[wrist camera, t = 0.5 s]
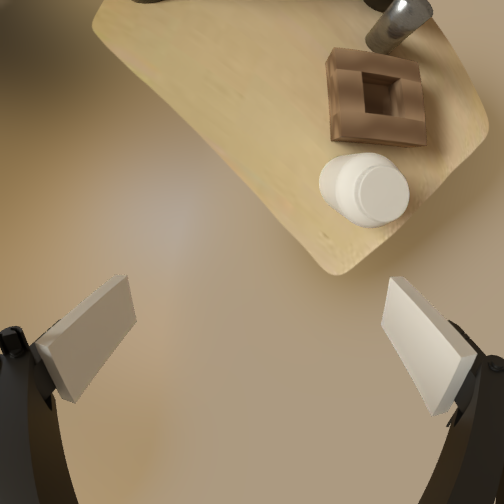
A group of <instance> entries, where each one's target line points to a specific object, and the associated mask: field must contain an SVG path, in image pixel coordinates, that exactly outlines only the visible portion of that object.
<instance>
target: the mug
mask: <svg viewBox="0 0 504 504" xmlns="http://www.w3.org/2000/svg"><path fill="white" fill-rule="evenodd" d="M393 1H394V0H364V2H365V3H366V4H367V5H368V6H369V7H371V8H372V9H374V10H377V11H380V12H385V11H386V10H387V8H388V7H389V6H390V5H391V3H392V2H393Z"/></svg>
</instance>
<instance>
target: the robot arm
mask: <svg viewBox="0 0 504 504" xmlns="http://www.w3.org/2000/svg"><path fill="white" fill-rule="evenodd" d="M132 1H134V2H137V3H153V2H158V1H162V0H132ZM136 322H137V320H136V316H135V311H134V307H133V302H132V297H131V292H130V287H129V282H128V276H127V275H114V276H113V277H112V278H111V279H109V280H108V281H107V282H105V283H104V284H103V285H102V286H100V287H99V288H98V289H97V290H95V291H94V292H93V293H92V294H91V295H90V296H88V297H87V298H86V299H84V300H83V301H82V302H81V303H80V304H78V306H76V307H75V308H74V309H73V310H72V311H70V312H69V313H68V314H67V315H66V316H64V317H63V318H62V319H60V320H58V321H57V322H56V323H55V324H54V325H53V326H52V327H51V328H49V329H48V330H47V332H45V333H43V334H42V335H41V336H40V337H39V338H38V339H37V340H36V341H35V342H34V343H32V344H31V345H30V346H29V345H28V343H27V341H26V338H25V335H24V333H23V330H22V328H20V327H18V326H12V327H8V328H6V329H4V330H2V331H1V332H0V348H1V350H2V353H3V354H0V504H78V501H77V498H76V495H75V492H74V488H73V485H72V482H71V478H70V475H69V471H68V468H67V463H66V459H65V455H64V450H63V446H62V440H61V435H60V430H59V423H58V417H57V410H56V402H55V398H54V396H53V394H52V392H53V391H54V390H55V388H56V389H57V390H58V393H59V394H60V396H61V398H62V399H64V400H67V401H70V402H72V403H76V402H77V401H78V399H79V398H80V396H81V395H82V394H83V392H84V390H85V389H86V388H87V387H88V385H89V384H90V383H91V381H92V380H93V378H94V377H95V376H96V374H97V373H98V371H99V370H100V369H101V368H102V366H103V365H104V364H105V362H106V361H107V359H108V358H109V357H110V356H111V354H112V353H113V352H114V350H115V349H116V348H117V346H118V345H119V344H120V343H121V341H122V340H123V339H124V337H125V336H126V335H127V333H128V332H129V331H130V330H131V328H132V327H133V326H134V324H135V323H136ZM381 326H382V328H383V329H384V331H385V333H386V334H387V336H388V338H389V339H390V341H391V343H392V345H393V346H394V348H395V350H396V351H397V353H398V355H399V356H400V358H401V360H402V362H403V364H404V365H405V367H406V369H407V371H408V373H409V374H410V376H411V378H412V380H413V382H414V384H415V385H416V387H417V389H418V391H419V393H420V394H421V397H422V399H423V400H424V402H425V404H426V406H427V408H428V410H429V412H430V414H431V416H436V415H439V414H442V413H445V412H448V410H449V409H450V407H451V405H452V403H453V402H454V401H455V402H456V404H457V406H458V408H457V409H456V411H455V413H454V414H453V416H452V417H451V419H450V421H449V422H448V424H447V426H446V427H449V425H450V423H451V426H450V429H449V432H448V435H447V438H446V441H445V444H444V446H443V449H442V452H441V455H440V457H439V460H438V462H437V464H436V467H435V469H434V472H433V474H432V476H431V479H430V481H429V483H428V485H427V487H426V489H425V491H424V493H423V495H422V497H421V499H420V501H419V503H418V504H494V501H495V497H496V503H495V504H504V359H503V358H501V357H499V356H495V355H489V356H486V355H485V354H484V353H483V352H482V351H481V350H480V348H479V347H478V346H477V345H476V344H475V343H474V342H473V341H472V340H471V339H470V338H469V336H468V335H467V334H465V332H464V331H463V330H462V329H461V328H460V327H459V326H458V325H457V324H455V323H453V322H452V321H450V320H446V319H445V317H444V316H443V315H442V314H441V313H440V312H439V311H438V310H437V309H436V308H435V307H434V306H433V305H432V304H431V303H430V302H429V301H428V300H427V299H426V298H425V297H424V296H423V295H422V294H421V293H420V292H419V291H418V290H417V289H416V288H415V287H414V286H413V285H412V284H411V283H410V282H409V281H407V280H406V279H405V278H404V277H403V276H401V277H390V280H389V286H388V292H387V298H386V303H385V308H384V313H383V318H382V322H381Z"/></svg>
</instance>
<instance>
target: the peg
mask: <svg viewBox="0 0 504 504" xmlns="http://www.w3.org/2000/svg"><path fill="white" fill-rule="evenodd" d="M432 15H433V10H432V7H431V5H430V4H429V2H428V1H427V0H394V1H393V2H392V3H391V5H390V6H389V7H388V8H387V10H386V11H385V12H384V13H383V15H382V16H381V17H380V19H379V20H378V21H377V22H376V24H375V25H374V26H373V28H372V29H371V30H370V31H369V33H368V34H367V35H366V38H365V40H366V44H367V46H368V47H369V48H370V49H371V50H372V51H373V52H375V53H378V54H384V55H387V54H389V53H390V52H391V51H392V50H393V49H394V48H396V47H397V46H398V45H399V44H400V43H401V42H402V41H403V40H405V39H406V38H407V37H408V36H409V35H410V34H412V33H413V32H414V31H415V30H416V29H417V28H419V27H420V26H421V25H422V24H423V23H424V22H426V21H427V20H428V19H429V18H430V17H432Z"/></svg>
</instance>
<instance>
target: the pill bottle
mask: <svg viewBox="0 0 504 504" xmlns="http://www.w3.org/2000/svg"><path fill="white" fill-rule="evenodd" d="M319 188H320V192H321V194H322V197H323V198H324V200H325V201H326V203H327V204H328V205H329V206H330V207H332V208H333V209H335V210H336V211H337V212H339V213H340V214H341V215H343V216H344V217H345V218H347V219H348V220H349V221H351V222H352V223H354V224H356V225H358V226H361V227H365V228H376V227H381V226H383V225H386V224H387V223H389V222H392V221H394V220H396V219H398V218H399V217H400V216H401V215H402V214H403V213H404V211H405V210H406V208H407V206H408V203H409V198H410V191H409V186H408V183H407V180H406V178H405V177H404V175H403V174H402V173H401V172H400V171H399V169H398V168H397V167H396V165H395V164H394V163H393V162H392V161H390V160H389V159H388V158H386V157H384V156H382V155H380V154H376V153H359V154H350V155H342V156H338V157H335V158H333V159H332V160H330V161H329V162H328V163H327V164H326V165H325V166H324V168H323V169H322V171H321V174H320V178H319Z"/></svg>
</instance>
